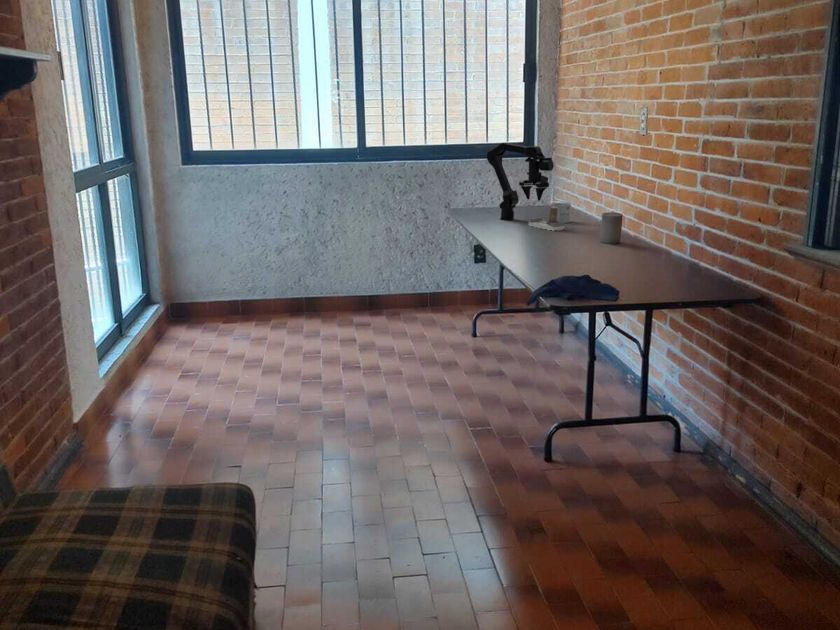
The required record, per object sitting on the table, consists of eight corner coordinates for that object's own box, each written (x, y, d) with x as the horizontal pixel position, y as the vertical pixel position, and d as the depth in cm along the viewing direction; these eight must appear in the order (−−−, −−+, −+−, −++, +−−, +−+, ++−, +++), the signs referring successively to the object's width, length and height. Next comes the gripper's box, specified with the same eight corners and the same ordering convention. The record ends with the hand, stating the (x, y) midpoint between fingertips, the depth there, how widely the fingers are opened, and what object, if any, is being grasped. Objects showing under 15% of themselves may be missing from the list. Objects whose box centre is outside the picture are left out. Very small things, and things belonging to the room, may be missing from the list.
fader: (546, 224, 393) (548, 203, 390) (553, 223, 396) (554, 203, 393) (551, 225, 391) (553, 204, 387) (558, 224, 394) (559, 204, 391)
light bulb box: (568, 220, 420) (570, 201, 417) (569, 222, 414) (571, 203, 410) (549, 219, 421) (550, 200, 418) (549, 222, 415) (551, 202, 411)
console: (528, 225, 401) (529, 218, 399) (540, 224, 406) (540, 217, 405) (552, 231, 388) (553, 223, 387) (564, 229, 394) (565, 222, 392)
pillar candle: (620, 241, 368) (623, 210, 363) (620, 244, 358) (623, 213, 354) (599, 239, 370) (602, 209, 366) (599, 243, 361) (601, 212, 356)
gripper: (557, 170, 398) (556, 200, 402) (534, 168, 413) (534, 197, 417) (540, 171, 392) (540, 201, 396) (518, 170, 408) (518, 199, 412)
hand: (533, 200), depth 406 cm, fingers open, 9 cm apart
